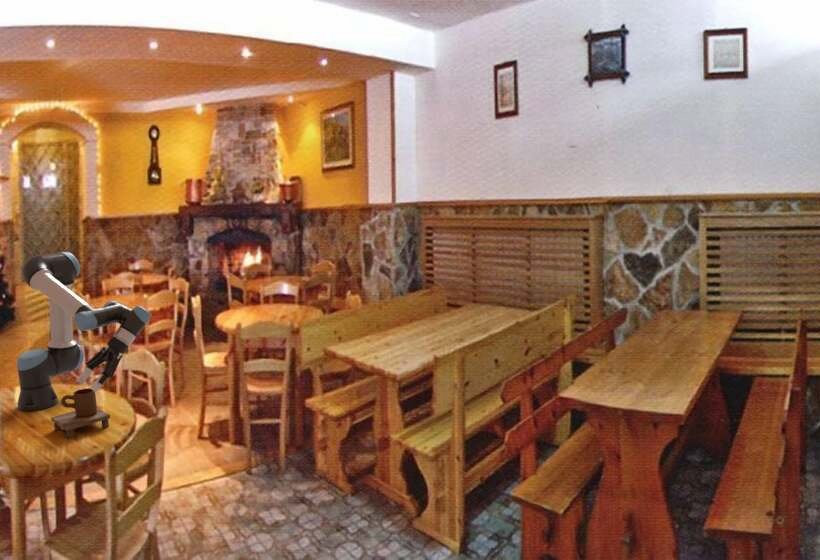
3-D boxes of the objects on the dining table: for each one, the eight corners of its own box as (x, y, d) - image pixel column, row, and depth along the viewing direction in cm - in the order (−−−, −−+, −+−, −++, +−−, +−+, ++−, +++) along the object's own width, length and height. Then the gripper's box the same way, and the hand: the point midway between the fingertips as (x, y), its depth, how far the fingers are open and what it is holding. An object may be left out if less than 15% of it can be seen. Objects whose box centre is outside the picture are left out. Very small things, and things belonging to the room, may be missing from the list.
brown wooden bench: (52, 429, 251) (51, 417, 251) (94, 417, 263) (93, 405, 262) (67, 439, 242) (66, 427, 241) (111, 426, 253) (109, 414, 252)
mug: (64, 422, 245) (61, 398, 244) (61, 416, 252) (59, 393, 250) (98, 415, 252) (96, 391, 250) (95, 409, 258) (93, 386, 257)
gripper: (142, 351, 254) (107, 398, 245) (114, 340, 270) (81, 384, 262) (127, 341, 249) (91, 388, 241) (100, 331, 266) (65, 375, 257)
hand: (85, 386), depth 251 cm, fingers open, 13 cm apart
